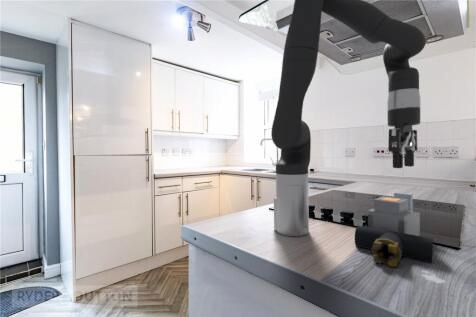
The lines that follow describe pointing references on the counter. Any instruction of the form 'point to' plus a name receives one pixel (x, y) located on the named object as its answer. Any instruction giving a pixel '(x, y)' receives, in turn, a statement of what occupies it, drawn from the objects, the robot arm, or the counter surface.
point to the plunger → (390, 199)
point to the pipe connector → (393, 245)
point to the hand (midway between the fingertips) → (403, 167)
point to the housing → (394, 217)
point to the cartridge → (405, 196)
